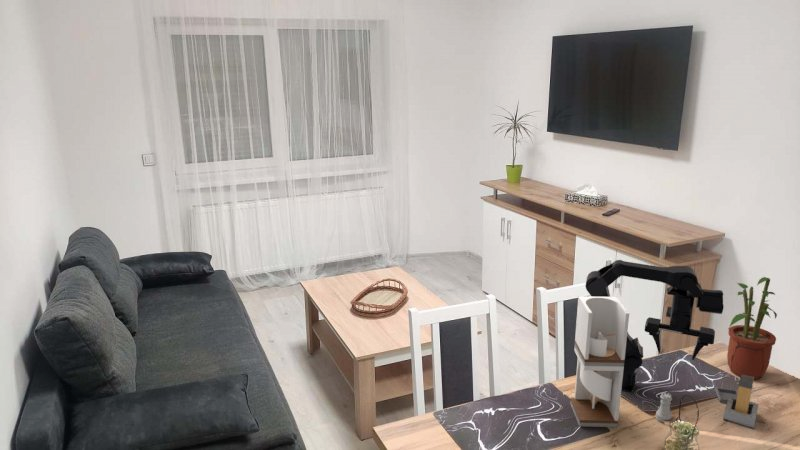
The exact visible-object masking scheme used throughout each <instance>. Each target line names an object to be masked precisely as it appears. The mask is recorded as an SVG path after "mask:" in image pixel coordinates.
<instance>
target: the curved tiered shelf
mask: <svg viewBox="0 0 800 450" xmlns="http://www.w3.org/2000/svg"><path fill="white" fill-rule="evenodd" d="M577 298H578V299H577V310H576V323H575V337H574V347H573V348H574V350H573V351H574V353H575V355H576V356H577V361H576V362H577V363H576V372H575V373H576V374H575V375H576V376H575V387H574V397H570V398H569V399H570V401H569V405H570V406H571V409H572V411H573V414H574V417H575V419H576V421H577V424H578V426H579V427H594V428H595V427H597V428H598V427H599V428H600V427H601V428H602V427H603V428H604V427H605V428H618V426H619V415H620V408H621V396H622V390H621V389H622V379H623V370H624V360H625V351H626V341H627V331H628V329H629V321H630V312H629V311H628V309H626V307H625V306H624V304H622V302H621V301H620V299H619V298H618V297H617V296H610V297H591V295H590V296H586V295H585V296H580V295H579V296H578V297H577Z"/></svg>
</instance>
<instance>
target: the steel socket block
mask: <svg viewBox="0 0 800 450" xmlns="http://www.w3.org/2000/svg"><path fill="white" fill-rule="evenodd" d="M736 400H737V398H735V397H732V396H729V399H728V402H727V403H726V405H725V409H724V415H723V421H725V422H729V423H730V424H735V425H738V426H741V427H744V428H748V429H751V430H754V429H755V425H756V421H757V416H758V411H759V410H758V409H759V405H760V404H759V403H757V402H752V401H750V402H749V408H748V414H747V413H743V412H740V411H737V410H735V406H736Z"/></svg>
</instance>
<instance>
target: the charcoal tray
mask: <svg viewBox="0 0 800 450" xmlns="http://www.w3.org/2000/svg"><path fill="white" fill-rule="evenodd" d="M714 391H715V394H716V396H717V398H718V401H719V403H723V404H727V402H728V399H729V396H732V397H735V398H737V394H738V389H731V388H725V387H716V386H715V388H714Z"/></svg>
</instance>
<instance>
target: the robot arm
mask: <svg viewBox="0 0 800 450" xmlns="http://www.w3.org/2000/svg"><path fill="white" fill-rule="evenodd" d="M620 277H628V278H629V277H630V278H633V279H639V280H646V281H647V280H648V281H652V282H659V283H663V284H665V285H668V286H669V287H667V288H666V294H667V295H668V296H670V295H671V296H672V301H671V306H667V307H666V312H665V313H666V314H665V317H667V318H669V324H667V323H662V322H661V321H662V319H661V318H656V317H655V318H654V317H648V318H646V320H645V325H644V332H645V333H648V335H650V336H652V339H653V340H654V342H655V346H656V348H657V352H658V354H661V351H662V331H665V332H670V333H676V334H682V335H686V336H692V337H695V338H696V337H697V339H696V342H695V344H694V348H693V352H692V357H691V360H692V361H694V360H695V359H696V357H697V355H698V354H699V352H700V351H701V350H702V349H703V348H704V347H708V346H709V345H714V343H715V337H716V331H715V329H714V328H709V327H706V326H700V327H699V328H700V329H693V328H691V327H692V321H693V311H694V306H695V308H697V309H698V311H699V312H701V313H710V314H716V315H722V314H723V311H724V308H725V307H724V292H723V290H721V289H718V290H717V289H716V290H714V289H705V288H702V285H701V283H699V282H698V281H699V280H698V277H697V273H696V271H695V270H694V269H693V268H692V267H691V266H687V265H672V266H657V265H650V264H646V263H645V264H643V263H639V262H638V263H637V262H631V261H625V260H622V259H617V260H615V261H613V262H612V263H610V264H608V265H604V266H603V267H602V268H600V269H599V270H593V271H591V272H589V273H588V275H587V276H586V281H585V289H586V291H587V293H588V294H589V295H590V296H591V297H611V293H610V289H609V286H610V285H612V284H613V283H614V282H615V281H616V280H617V279H619V278H620ZM694 304H695V305H694ZM643 358H644V348H643V346H642V345H641V343H640V341H639V338H638V337H635V338H633V337H632V336H631V335H630V333H629V332H628V331H627V341H626V351H625V360H624V370H623V379H622V389H621V391H626V392H629V393H632V392H633V390H634V389H635V388H636V383H637V377H638V375H637V372H636V370H637V369H639V368H640V367H642V365H643Z"/></svg>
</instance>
